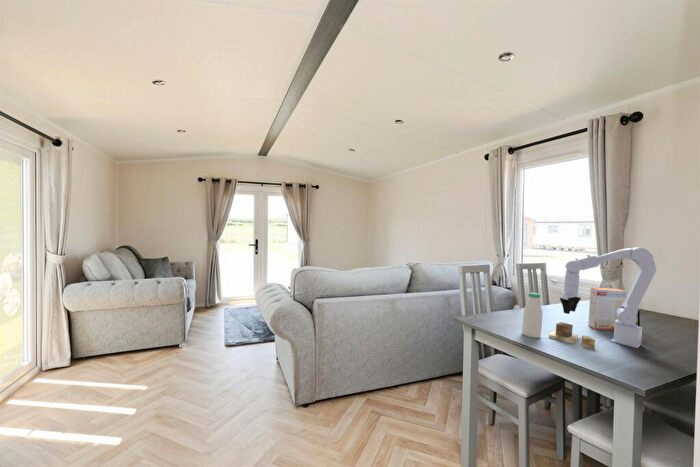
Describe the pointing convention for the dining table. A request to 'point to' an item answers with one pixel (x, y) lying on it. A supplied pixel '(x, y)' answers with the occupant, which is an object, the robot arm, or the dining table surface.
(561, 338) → the base board
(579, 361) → the dining table surface
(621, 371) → the dining table surface
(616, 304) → the cracker box
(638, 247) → the robot arm
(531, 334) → the milk bottle
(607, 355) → the dining table surface
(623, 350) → the dining table surface
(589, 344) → the oak cube
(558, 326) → the walnut cube
